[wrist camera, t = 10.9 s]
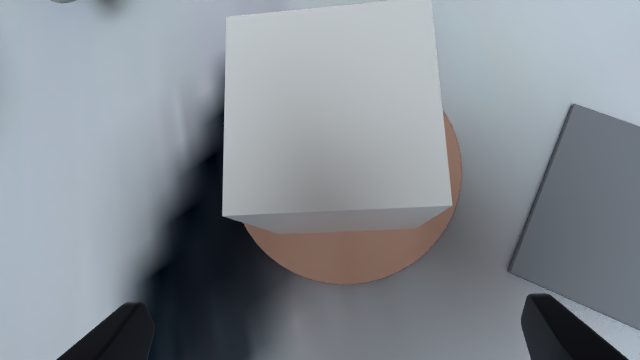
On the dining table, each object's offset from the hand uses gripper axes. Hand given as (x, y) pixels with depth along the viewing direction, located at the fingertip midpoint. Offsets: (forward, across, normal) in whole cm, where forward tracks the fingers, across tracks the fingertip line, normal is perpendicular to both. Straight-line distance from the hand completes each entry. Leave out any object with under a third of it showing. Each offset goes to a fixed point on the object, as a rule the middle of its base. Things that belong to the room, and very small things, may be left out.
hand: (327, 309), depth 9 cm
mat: (+11, -15, +7) cm, 20 cm away
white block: (+13, 0, +4) cm, 13 cm away
